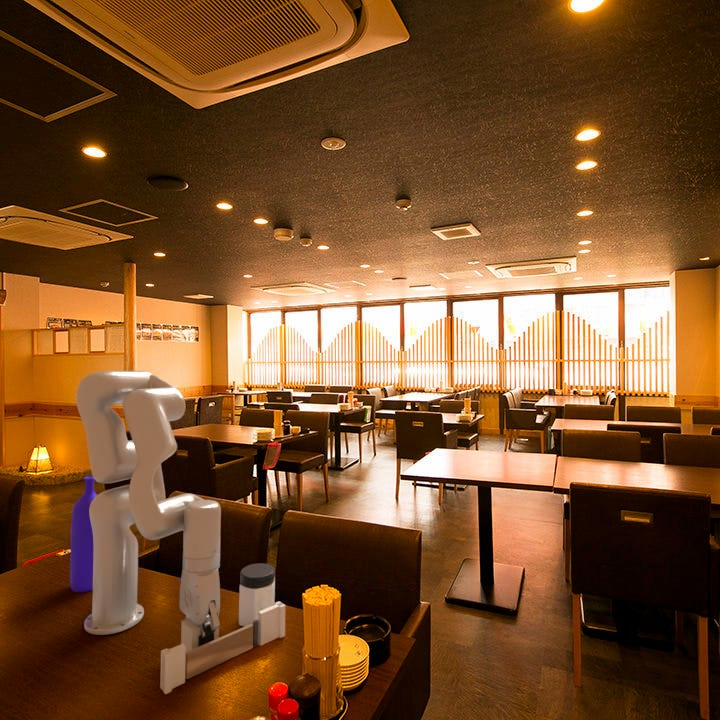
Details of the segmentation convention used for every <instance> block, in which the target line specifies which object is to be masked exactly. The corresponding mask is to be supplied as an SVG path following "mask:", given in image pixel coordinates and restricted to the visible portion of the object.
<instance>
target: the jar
mask: <svg viewBox="0 0 720 720" xmlns="http://www.w3.org/2000/svg"><path fill="white" fill-rule="evenodd" d="M275 571H276V570H275V567H274V566H273V565H271V564H269V563H264V562H263V563H262V562H260V563H252V564H249V565H246V566H245V567H243V568H242V569H241V570H240V584H239V586H238V587H239V592H238V593H239V595H238V596H239V600H238V601H239V602H238V603H239V605H238V607H239V608H238V625H239V626H241V627H245V626H247V625H250V624H252V625H253V621H254V620H258V612H259V611H261V610H264V609H266V608H268V607H271V606H273V605H275V603H276V602H275V597H276V591H275V590H276V573H275Z"/></svg>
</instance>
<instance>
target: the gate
mask: <svg viewBox="0 0 720 720" xmlns="http://www.w3.org/2000/svg"><path fill="white" fill-rule="evenodd" d="M258 623H259V621H258V620H254V621H253V625H252V624H250V625H247V626H245V627H244V626H242V627H240V628H239V629H237V630H234V631H232V632H229V633H228V634H224V635H223V636H221V637H220V636H219V638H218V639H215V640H213V641H211V642H209V643H206V644H204V645H202V646H199V647H197V648H195V649H193V650H190V651H188V652H186V654H185V680H189V679H191V678H193V677H195V676H198V675H200V674H202V673H203V672H204V673H205V672H206V671H208V670H210V669H212V668H214V667H216V666H219V665H220V664H222V663H225V662H226V661H228V660H230V659H232V658H234V657H237V656H239V655H242V654H243V653H245V652H247V651H249V650H252V649H253V648H257V647H258V646H259V644H258Z"/></svg>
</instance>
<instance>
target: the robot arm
mask: <svg viewBox="0 0 720 720" xmlns="http://www.w3.org/2000/svg"><path fill="white" fill-rule="evenodd" d="M75 399H76V400H75V401H76V406H77V410H78V413H79V416H80V419H81V421H82V423H83V426H84V430H85V436H86V443H87V450H88V458H89V464H90V470H91V475H92V476H93V477H94V479H95V480H94V481H96V482H97V483H99V484H103V485H104V484H105V485H106V484H113V483H117V482H121V481H123V482H124V481H126V480H130V483H129V484H125V485H122V486H121V485H120V486H119V487H113V488H109V489H107V490H105V491H102V492H100V493H99V494H97V496H96V497H95V498H94V499H93V500H92V502H91V504H90V508H89V515H90V521H91V526H92V532H93V590H92V603H91V604H92V606H91V607H92V609H91V614H89V615H88V616H87V617H86V618H85V620H84V624H83V626H84V630H85V631H86V632H87V633H88V634H91V635H98V636H100V635H101V636H103V635H105V636H107V635H112V634H118V633H120V632H123V631H124V632H125V630H129V629H131V628H132V627H134V626H135V625H137V624H138V623H140V621H141V620H142V619H143V617H144V615H145V609H144V607H143V606H142V605H141V604H139V603H138V579H139V577H138V576H139V575H138V573H139V570H138V569H139V543H138V539H137V536H135V535H134V533H133V532H132V530H131V528H130V526H132V525H134V524H135V525H136V526H135V527H136V528H137V530H138V532H139V533H140V535H141V536H143V537H144V538H145V539H146V540H149V541H157V540H161V539H162V538H165V537H168V536H171V535H174V534H175V533H178V532H181V531H183V540H182V541H183V542H182V544H183V545H182V548H183V550H182V571H181V578H180V585H179V588H180V589H179V601H178V602H179V605H178V606H179V609H180V611H181V612H182V613H183V614H184V615H185V619H188V618H189V619H191V620H192V621H193V622H194V623H195V624H197V625H200V633H201V635H200V636H199V646H202V645H204V644H206V643H209V642H211V641H213V640H214V633H215V631H216V629H217V628H218V627H219V628H220V625H221V624H220V619H219V616H220V611H221V583H220V575H219V574H220V572H219V568H220V567H221V563H220V562H221V526H222V525H221V524H222V523H221V520H222V519H221V518H222V507H221V504H220V503H219V502H218V501H216V500H212V499H204V498H202V497H200V496H199V495H197V494H193V493H190V492H189V493H181V494H178V495H176V496H175V495H174V496H170V497H168V498H166V489H165V488H166V487H165V483H164V475H163V470H162V463H163V462H164V461H166V460H168V458H170V457H172V456H173V455H174V454H175V453H176V451H177V450H178V443H177V441H176V439H175V435H174V432H173V430H172V426H171V423H170V422H175V421H177V420H180V419H182V417H183V416H184V415H185V412H186V400H185V397H184V395H183V394H182V393H181V391H180V390H179V389H177V388H176V387H175V386H174V385H173V384H171V383H169V382H167V381H166V380H164V379H163V378H161V377H159V376H158V375H156V374H154V373H152V372H149V371H144V370H103V371H96V372H92V373H89V374H87V375H85V376H84V377H83V378H82V379H81V380H80V382H79V384H78V386H77V388H76V396H75ZM113 406H122V409H123V411H122V412H123V414H124V417H125V421H126V424H127V426H128V427H127V428H128V430H129V433H130V437H131V439H130V440H128V436H127V430H126V425H125V422H124V420H123V419H122V417H121V416H120V415H119V413H118V412H117V411H116V410H115V409H114V408H112V407H113ZM207 615H209V617H207ZM206 617H207V618H206ZM209 621H210V625H208V626H207V627H206V628H205V624H204V623H206V622H209ZM199 646H198V647H199Z"/></svg>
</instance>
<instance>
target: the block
mask: <svg viewBox="0 0 720 720" xmlns="http://www.w3.org/2000/svg"><path fill="white" fill-rule="evenodd" d="M207 617H209V615H207ZM207 617H206V618H207ZM180 623H181V629H180V630H181V631H180V635H181V636H180V637H181V638H180V645H181V644H184V645H185V646H186V652H188V651H190V650H193V649H195V648H197V647H198V646H199V636H200V635H201V633H200V625H197V624H195V623H194V622H193V621H192V620H191V619H189V618H188V619H186V618H185V619H183V620H181V622H180ZM204 624H205V628H206V627H207V626H208V625H210V621H209V622H206V623H204ZM219 635H220V626H219V627H218V628H217V629H216V631H215V633H214V640H215V639H218V638H220V636H219Z"/></svg>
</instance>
